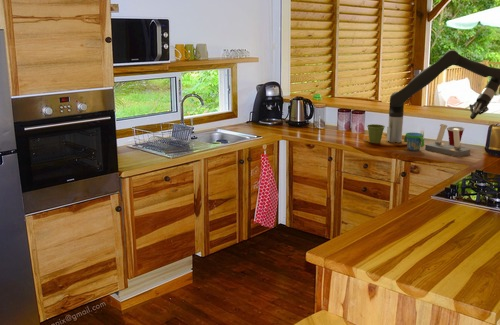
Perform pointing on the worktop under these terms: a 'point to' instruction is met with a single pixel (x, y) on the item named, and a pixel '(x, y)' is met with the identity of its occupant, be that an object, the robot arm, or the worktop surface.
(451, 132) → the plastic cup
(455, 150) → the switch base
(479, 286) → the worktop surface
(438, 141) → the inner lever
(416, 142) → the snack cup
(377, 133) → the plant pot
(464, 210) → the worktop surface
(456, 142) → the outer lever
